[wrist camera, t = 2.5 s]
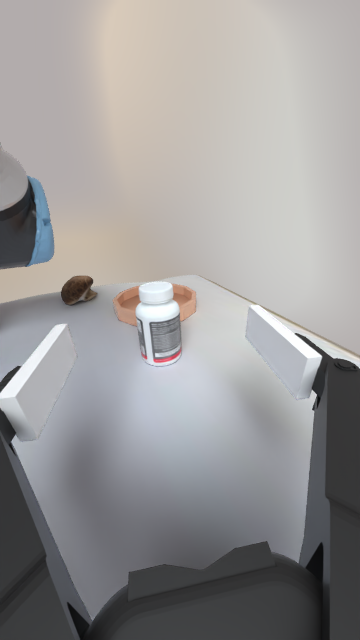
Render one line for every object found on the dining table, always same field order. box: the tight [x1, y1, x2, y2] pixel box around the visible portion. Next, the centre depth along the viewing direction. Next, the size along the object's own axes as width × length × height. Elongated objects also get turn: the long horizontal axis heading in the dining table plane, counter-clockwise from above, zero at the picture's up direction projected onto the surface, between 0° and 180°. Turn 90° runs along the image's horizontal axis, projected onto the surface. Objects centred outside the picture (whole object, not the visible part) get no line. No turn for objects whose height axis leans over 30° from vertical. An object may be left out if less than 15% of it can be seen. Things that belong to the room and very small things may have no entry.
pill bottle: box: [135, 282, 181, 366], centre depth 27 cm, size 5×5×10 cm
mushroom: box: [61, 276, 97, 305], centre depth 47 cm, size 8×8×6 cm
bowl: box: [113, 284, 196, 326], centre depth 43 cm, size 16×16×2 cm
